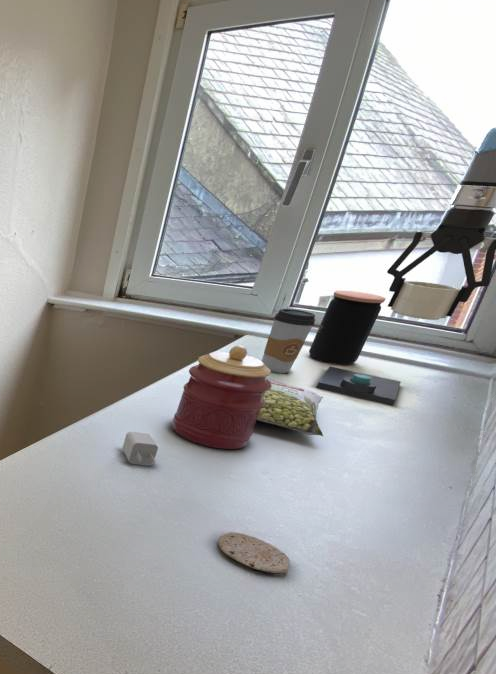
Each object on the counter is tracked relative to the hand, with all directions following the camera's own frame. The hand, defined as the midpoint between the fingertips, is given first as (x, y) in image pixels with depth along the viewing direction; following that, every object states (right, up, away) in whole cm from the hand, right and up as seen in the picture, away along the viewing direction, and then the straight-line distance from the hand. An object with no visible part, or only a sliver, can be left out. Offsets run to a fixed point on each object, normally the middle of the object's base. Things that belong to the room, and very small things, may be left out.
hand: (418, 310), depth 128 cm
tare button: (-15, -17, -1) cm, 22 cm away
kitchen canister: (-65, -29, -23) cm, 75 cm away
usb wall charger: (-84, -34, -34) cm, 97 cm away
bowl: (0, -1, +1) cm, 1 cm away
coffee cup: (-23, -12, +15) cm, 30 cm away
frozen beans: (-47, -25, -12) cm, 54 cm away
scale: (-10, -18, +5) cm, 21 cm away
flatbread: (-80, -45, -57) cm, 108 cm away
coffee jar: (+1, -8, +25) cm, 26 cm away
